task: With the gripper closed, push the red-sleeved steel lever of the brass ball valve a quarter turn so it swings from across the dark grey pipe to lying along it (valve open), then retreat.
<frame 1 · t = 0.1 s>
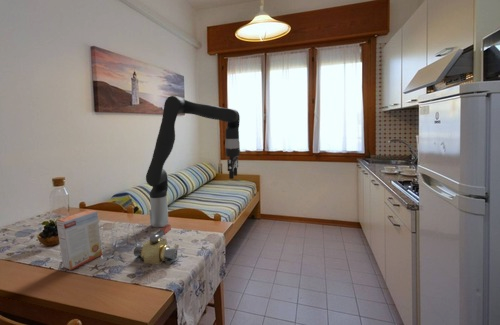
hand: (233, 177, 143), 29 cm above the table, fingers open, 8 cm apart
valve pipe: (156, 259, 115), on the table
cracker box: (83, 261, 114), on the table
lever: (160, 233, 118), point 10 cm above the table, hinge at 90.0°
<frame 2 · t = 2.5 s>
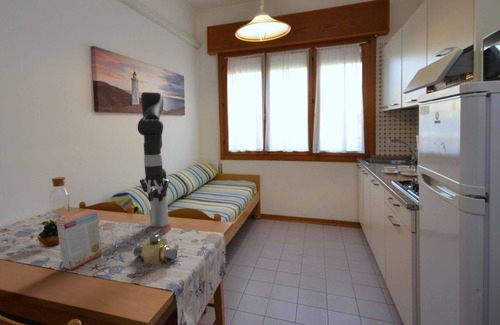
hand: (156, 200, 121), 23 cm above the table, fingers open, 4 cm apart
nothing on the table moved.
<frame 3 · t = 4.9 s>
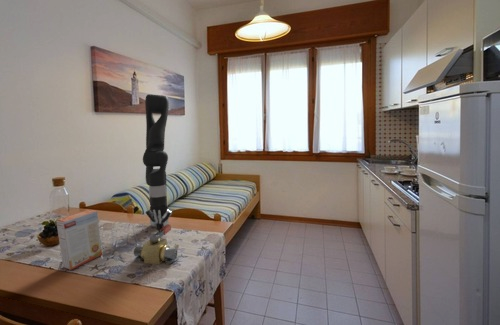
hand: (160, 230, 123), 9 cm above the table, fingers closed
lever: (160, 233, 118), point 10 cm above the table, hinge at 89.6°, touching gripper
everything else where it was.
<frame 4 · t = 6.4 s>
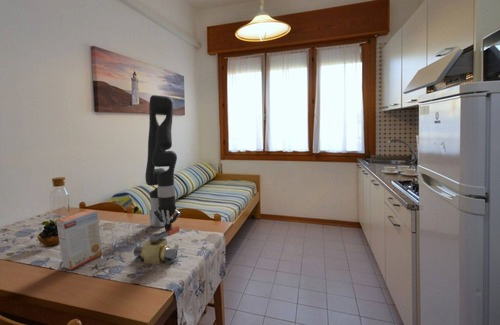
hand: (168, 230, 123), 9 cm above the table, fingers closed
lever: (164, 234, 117), point 10 cm above the table, hinge at 65.0°, touching gripper
everything else where it was.
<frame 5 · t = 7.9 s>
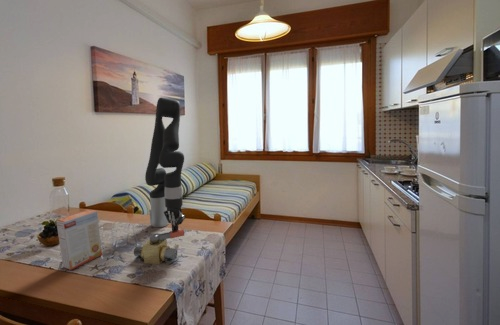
hand: (175, 232, 120), 9 cm above the table, fingers closed
lever: (167, 235, 116), point 10 cm above the table, hinge at 38.7°, touching gripper
everything else where it was.
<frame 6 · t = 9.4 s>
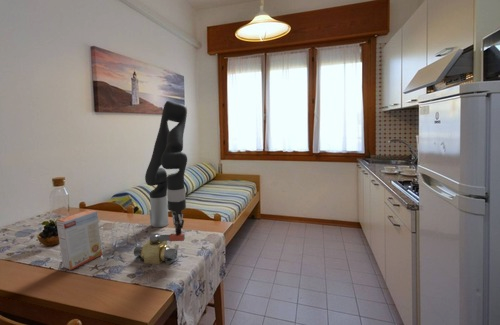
hand: (178, 235, 117), 9 cm above the table, fingers closed
lever: (167, 237, 113), point 10 cm above the table, hinge at 13.4°, touching gripper
everything else where it was.
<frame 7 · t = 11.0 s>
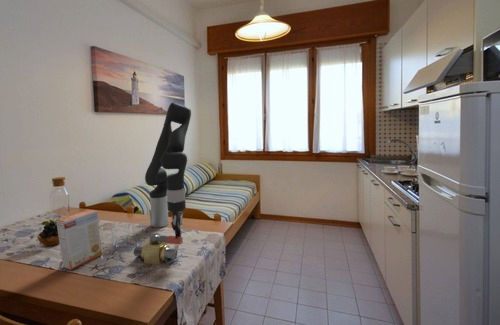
hand: (178, 237, 115), 9 cm above the table, fingers closed
lever: (165, 239, 112), point 10 cm above the table, hinge at -3.4°
everything else where it was.
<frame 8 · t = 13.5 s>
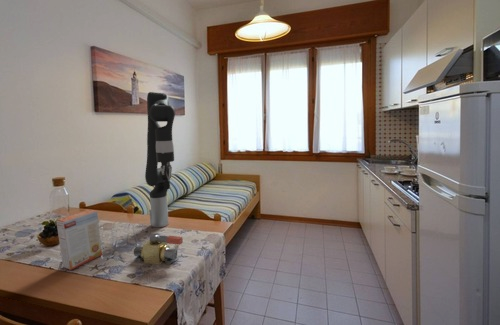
hand: (167, 188, 120), 29 cm above the table, fingers closed
nothing on the table moved.
at the end: lever at -3° (first picture: +90°) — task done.
